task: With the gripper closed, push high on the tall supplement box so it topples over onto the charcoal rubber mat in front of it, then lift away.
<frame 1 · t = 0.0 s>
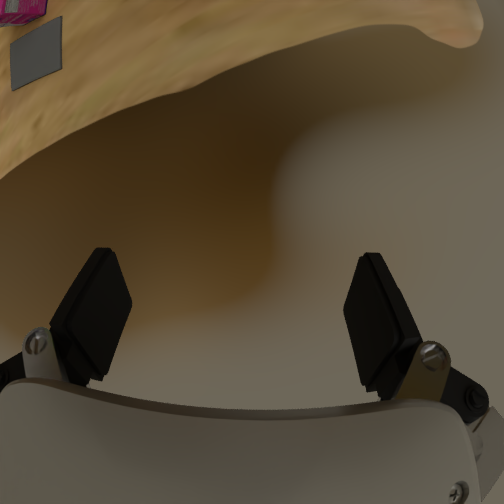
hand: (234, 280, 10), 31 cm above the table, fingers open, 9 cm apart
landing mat: (34, 54, 25), on the table
supplement box: (37, 7, 19), on the table
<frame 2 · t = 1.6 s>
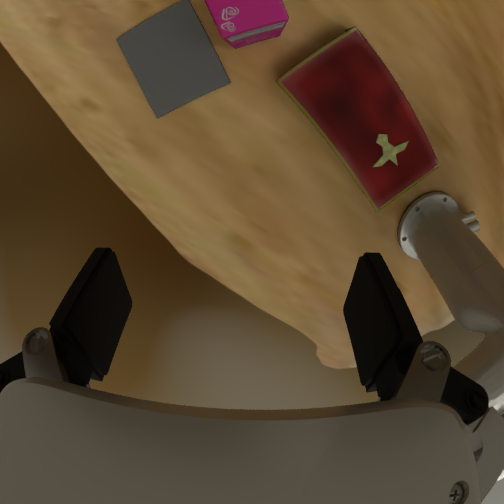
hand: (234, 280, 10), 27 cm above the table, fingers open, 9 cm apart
hardcover book: (361, 117, 31), on the table
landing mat: (171, 57, 26), on the table
supplement box: (249, 23, 24), on the table
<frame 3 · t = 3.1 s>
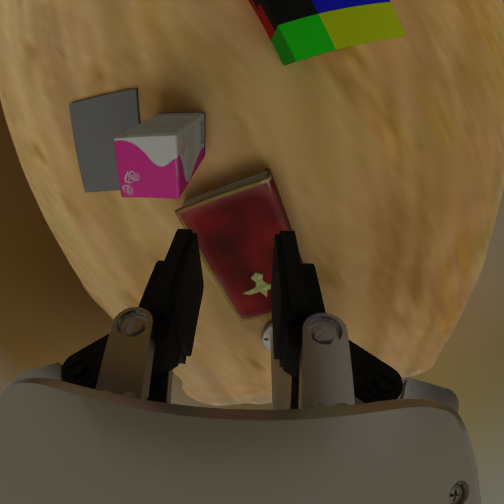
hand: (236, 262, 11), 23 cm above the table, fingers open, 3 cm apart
hardcover book: (253, 245, 40), on the table
puzzle toy: (306, 15, 21), on the table
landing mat: (107, 143, 30), on the table
supplement box: (181, 135, 30), on the table
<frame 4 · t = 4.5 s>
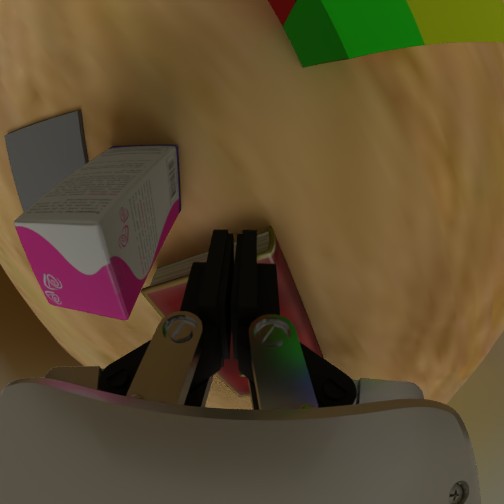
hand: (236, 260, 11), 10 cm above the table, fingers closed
hardcover book: (252, 318, 30), on the table
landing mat: (52, 188, 20), on the table
supplement box: (145, 178, 20), on the table
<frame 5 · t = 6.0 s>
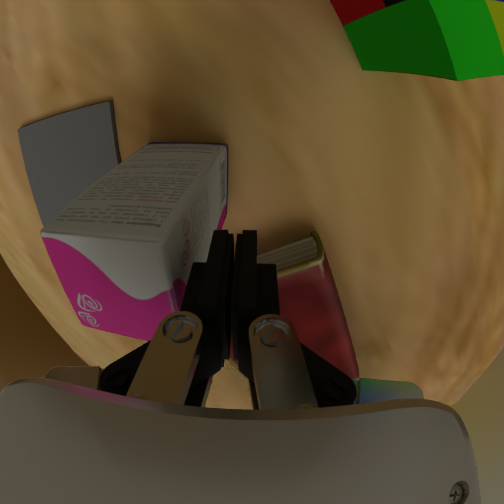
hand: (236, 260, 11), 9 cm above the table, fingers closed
hardcover book: (288, 323, 29), on the table
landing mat: (74, 188, 19), on the table
supplement box: (187, 179, 19), on the table, touching gripper
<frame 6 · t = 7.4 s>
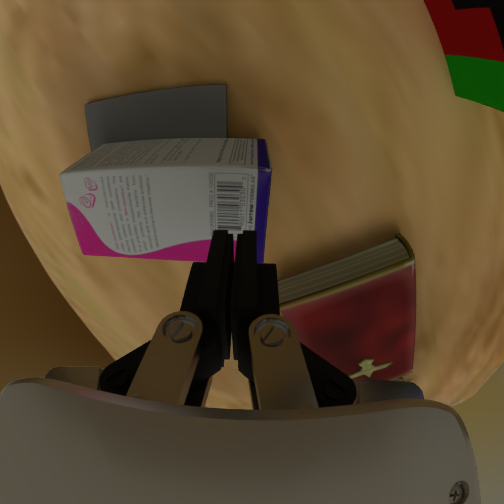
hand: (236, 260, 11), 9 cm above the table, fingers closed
hardcover book: (356, 320, 29), on the table
puzzle toy: (476, 32, 10), on the table
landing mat: (159, 179, 19), on the table
supplement box: (268, 197, 16), point 3 cm above the table, touching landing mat
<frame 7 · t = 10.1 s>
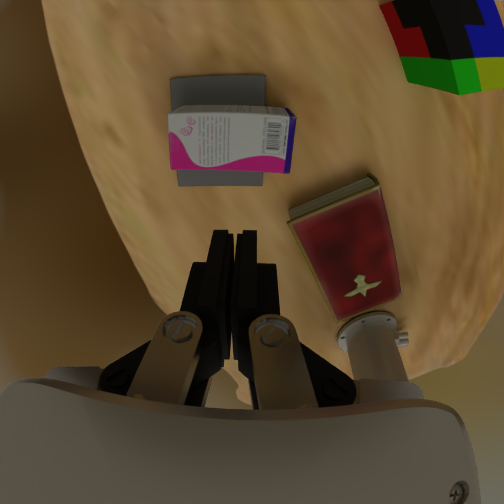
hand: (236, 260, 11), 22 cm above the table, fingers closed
hardcover book: (349, 248, 39), on the table
puzzle toy: (425, 39, 20), on the table
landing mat: (218, 131, 29), on the table
supplement box: (291, 139, 26), point 3 cm above the table, touching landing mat
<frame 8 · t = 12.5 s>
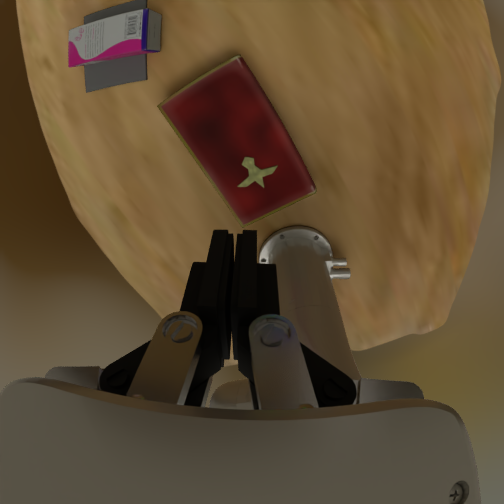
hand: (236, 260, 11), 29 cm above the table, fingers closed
hardcover book: (242, 139, 37), on the table
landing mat: (114, 44, 26), on the table
supplement box: (156, 31, 24), point 3 cm above the table, touching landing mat
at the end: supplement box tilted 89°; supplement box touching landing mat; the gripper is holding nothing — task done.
